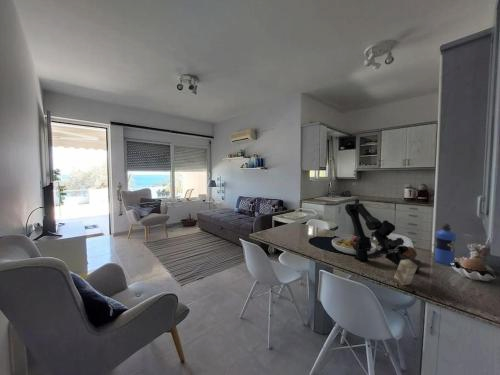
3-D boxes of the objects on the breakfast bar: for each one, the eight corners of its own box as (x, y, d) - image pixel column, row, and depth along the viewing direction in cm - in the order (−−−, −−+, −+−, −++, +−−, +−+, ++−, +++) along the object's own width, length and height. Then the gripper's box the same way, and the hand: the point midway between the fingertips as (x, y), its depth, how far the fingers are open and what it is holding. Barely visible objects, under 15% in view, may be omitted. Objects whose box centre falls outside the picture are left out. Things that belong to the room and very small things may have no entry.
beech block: (393, 278, 108) (400, 260, 104) (401, 277, 110) (408, 259, 106) (402, 285, 104) (410, 267, 100) (409, 284, 105) (417, 265, 101)
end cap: (396, 268, 123) (397, 257, 122) (400, 265, 127) (401, 254, 127) (417, 275, 115) (418, 263, 115) (421, 271, 119) (421, 259, 119)
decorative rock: (415, 259, 135) (416, 245, 135) (417, 266, 126) (418, 250, 125) (391, 255, 143) (391, 241, 142) (391, 261, 133) (392, 246, 133)
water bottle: (431, 260, 134) (432, 222, 132) (439, 258, 137) (441, 221, 136) (449, 266, 125) (451, 226, 124) (458, 264, 128) (460, 224, 127)
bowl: (373, 260, 135) (373, 249, 135) (326, 251, 153) (326, 240, 153) (378, 247, 159) (378, 237, 159) (337, 240, 177) (337, 231, 177)
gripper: (378, 233, 109) (397, 262, 99) (405, 231, 114) (426, 258, 103) (366, 243, 117) (383, 271, 107) (392, 241, 122) (410, 267, 111)
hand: (401, 266), depth 107 cm, fingers closed
